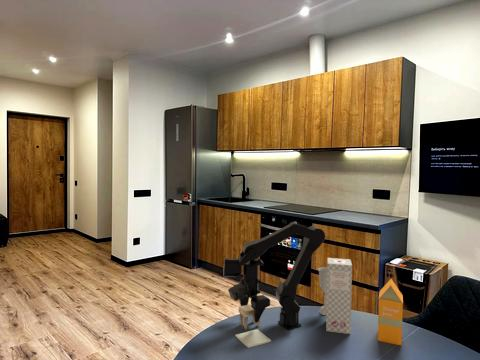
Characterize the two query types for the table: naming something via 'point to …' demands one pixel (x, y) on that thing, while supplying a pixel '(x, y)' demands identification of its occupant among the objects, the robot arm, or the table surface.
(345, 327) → the box
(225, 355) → the table surface
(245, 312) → the tan block with pegs
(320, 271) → the chalice
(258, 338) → the mat
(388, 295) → the orange juice
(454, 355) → the table surface
